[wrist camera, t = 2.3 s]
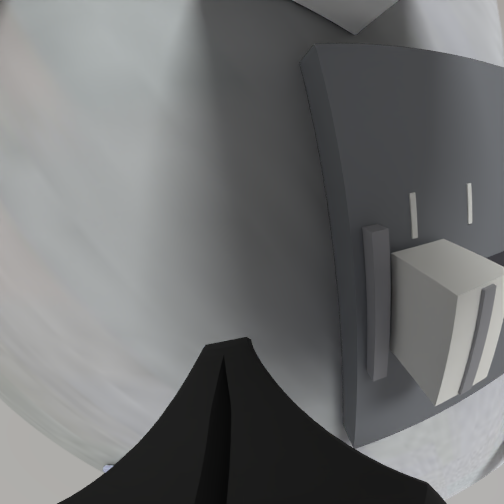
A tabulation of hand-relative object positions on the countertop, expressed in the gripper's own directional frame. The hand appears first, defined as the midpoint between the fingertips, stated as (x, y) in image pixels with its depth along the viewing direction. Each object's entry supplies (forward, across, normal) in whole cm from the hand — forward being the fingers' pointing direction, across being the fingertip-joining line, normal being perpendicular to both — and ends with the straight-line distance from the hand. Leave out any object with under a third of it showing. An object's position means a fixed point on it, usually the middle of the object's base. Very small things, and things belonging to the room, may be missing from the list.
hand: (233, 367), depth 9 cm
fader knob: (+1, -7, 0) cm, 7 cm away
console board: (+3, -11, 0) cm, 12 cm away
